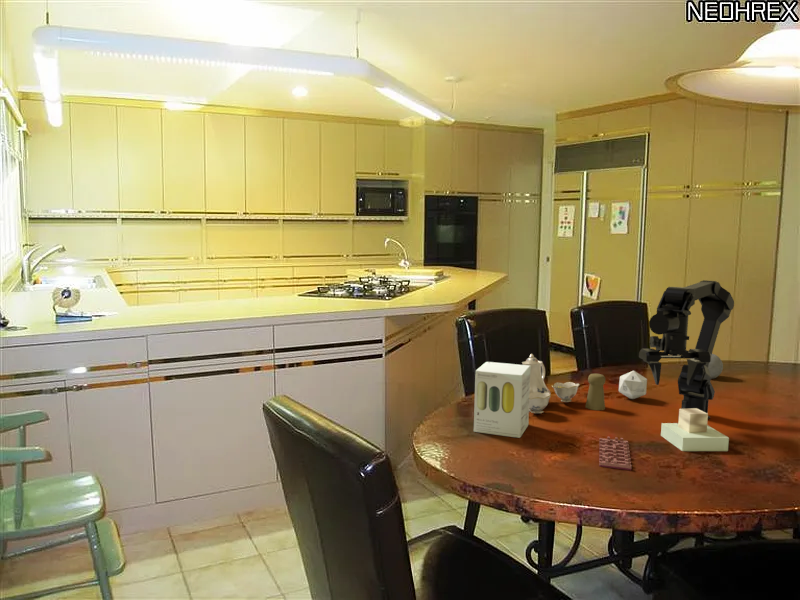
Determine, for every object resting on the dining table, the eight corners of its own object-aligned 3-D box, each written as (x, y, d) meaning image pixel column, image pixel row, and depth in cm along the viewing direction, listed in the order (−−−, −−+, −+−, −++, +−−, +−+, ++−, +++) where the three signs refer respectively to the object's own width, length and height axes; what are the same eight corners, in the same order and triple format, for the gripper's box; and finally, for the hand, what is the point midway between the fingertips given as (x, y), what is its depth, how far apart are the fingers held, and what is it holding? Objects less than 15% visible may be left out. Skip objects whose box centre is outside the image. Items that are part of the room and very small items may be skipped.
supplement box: (472, 432, 173) (474, 370, 171) (484, 418, 185) (485, 360, 183) (520, 438, 168) (522, 374, 166) (529, 424, 180) (531, 365, 178)
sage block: (703, 437, 173) (704, 423, 172) (727, 452, 161) (728, 437, 160) (660, 437, 172) (661, 423, 172) (682, 452, 160) (683, 437, 160)
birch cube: (695, 426, 169) (696, 408, 169) (706, 432, 165) (708, 413, 164) (678, 426, 169) (679, 408, 168) (689, 432, 164) (690, 414, 163)
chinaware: (545, 422, 182) (548, 366, 181) (495, 411, 193) (497, 358, 191) (583, 402, 204) (586, 352, 202) (537, 393, 215) (539, 346, 213)
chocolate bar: (627, 445, 166) (628, 437, 165) (631, 471, 148) (631, 463, 147) (599, 442, 168) (599, 434, 168) (599, 467, 150) (599, 459, 150)
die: (617, 401, 206) (619, 371, 205) (619, 395, 214) (620, 366, 213) (645, 404, 203) (647, 374, 202) (645, 398, 211) (647, 369, 210)
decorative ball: (699, 374, 247) (701, 349, 246) (726, 379, 240) (728, 353, 238) (688, 378, 240) (690, 352, 239) (715, 383, 233) (717, 356, 232)
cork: (606, 411, 194) (608, 376, 193) (586, 410, 195) (587, 375, 194) (604, 406, 200) (605, 372, 199) (584, 404, 201) (586, 371, 200)
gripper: (694, 327, 187) (690, 378, 189) (632, 326, 186) (629, 377, 188) (714, 333, 176) (710, 387, 177) (648, 332, 175) (645, 387, 177)
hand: (672, 384), depth 180 cm, fingers open, 9 cm apart
